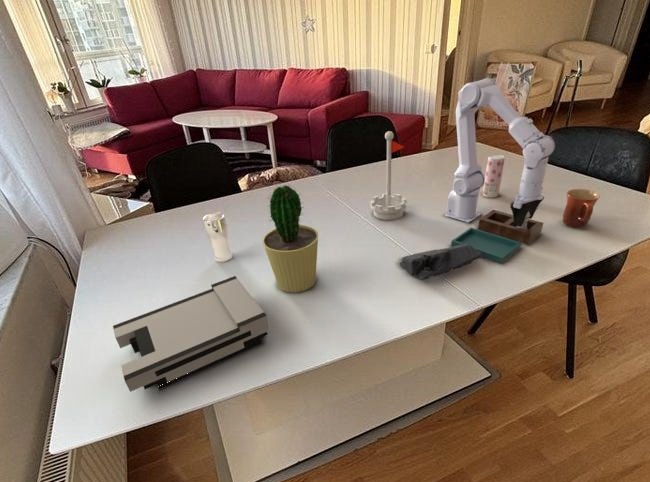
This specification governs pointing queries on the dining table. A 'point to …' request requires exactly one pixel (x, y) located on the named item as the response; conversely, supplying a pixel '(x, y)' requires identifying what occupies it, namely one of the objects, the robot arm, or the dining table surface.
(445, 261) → the dark slate chunk
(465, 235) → the tray
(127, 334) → the game console
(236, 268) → the dining table surface
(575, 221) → the mug
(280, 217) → the potted cactus
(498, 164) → the beverage can
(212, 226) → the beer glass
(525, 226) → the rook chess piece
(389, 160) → the flag stand
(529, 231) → the wooden compartment box
